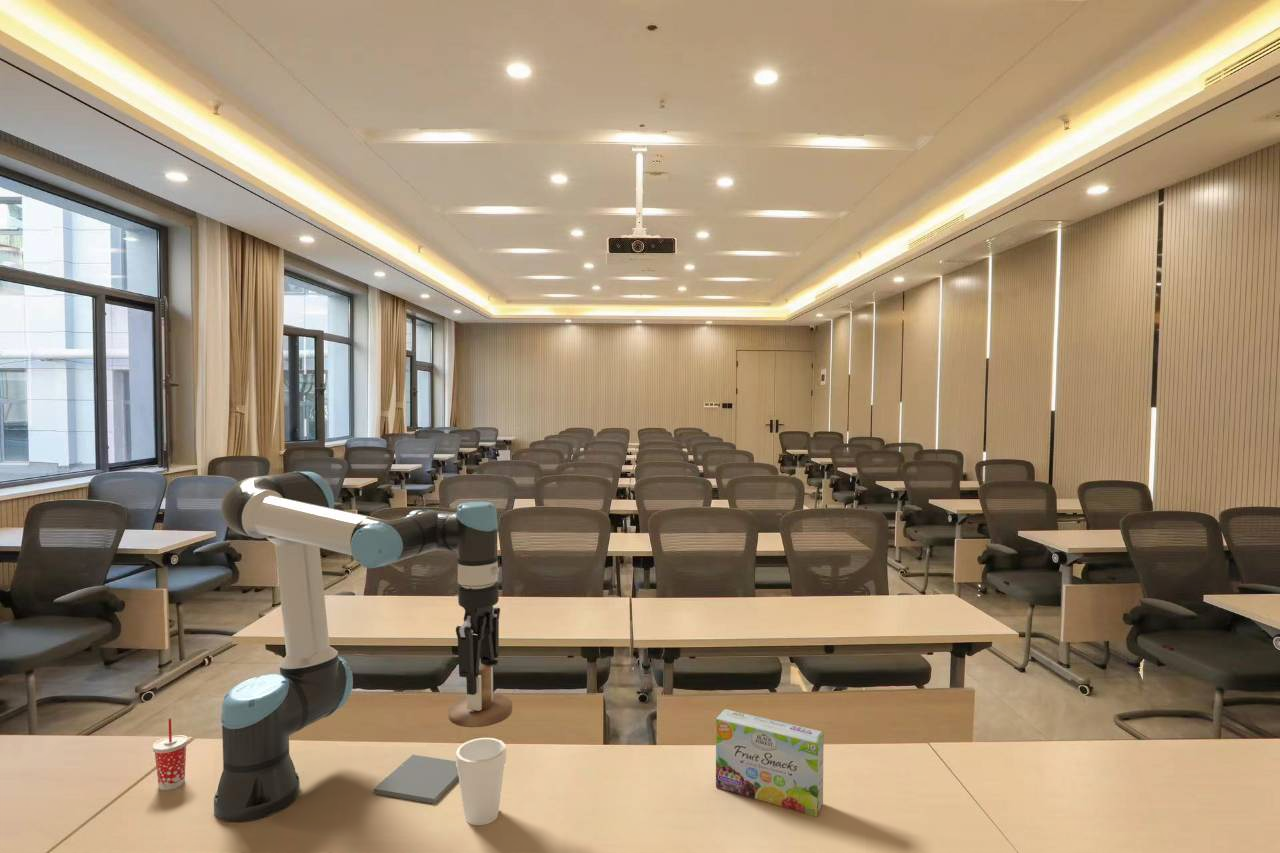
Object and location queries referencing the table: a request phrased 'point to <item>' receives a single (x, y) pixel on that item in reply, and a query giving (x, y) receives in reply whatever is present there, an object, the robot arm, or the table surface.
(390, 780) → the mat
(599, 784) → the table surface
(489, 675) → the lid
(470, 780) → the foam cup
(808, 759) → the snack box
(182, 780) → the beverage cup
